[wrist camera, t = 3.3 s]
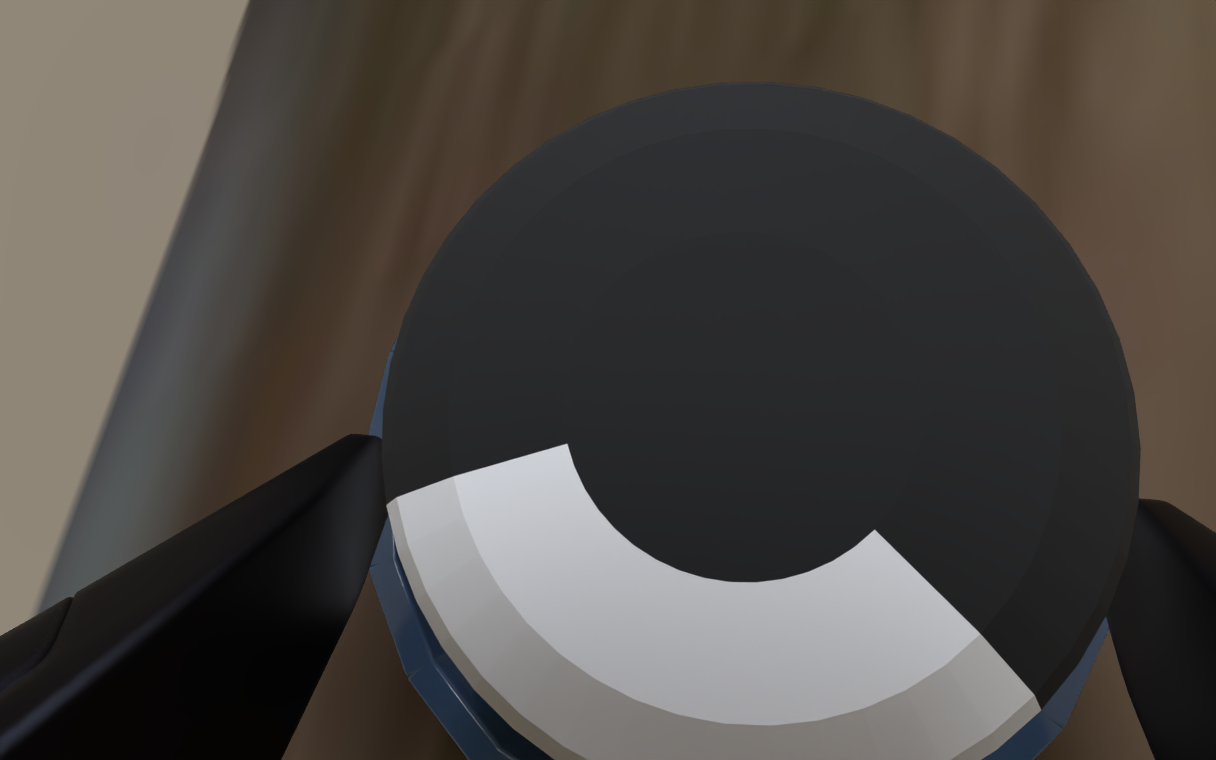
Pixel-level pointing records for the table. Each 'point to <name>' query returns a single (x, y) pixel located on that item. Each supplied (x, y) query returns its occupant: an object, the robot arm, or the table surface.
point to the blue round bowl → (509, 756)
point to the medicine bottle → (760, 438)
